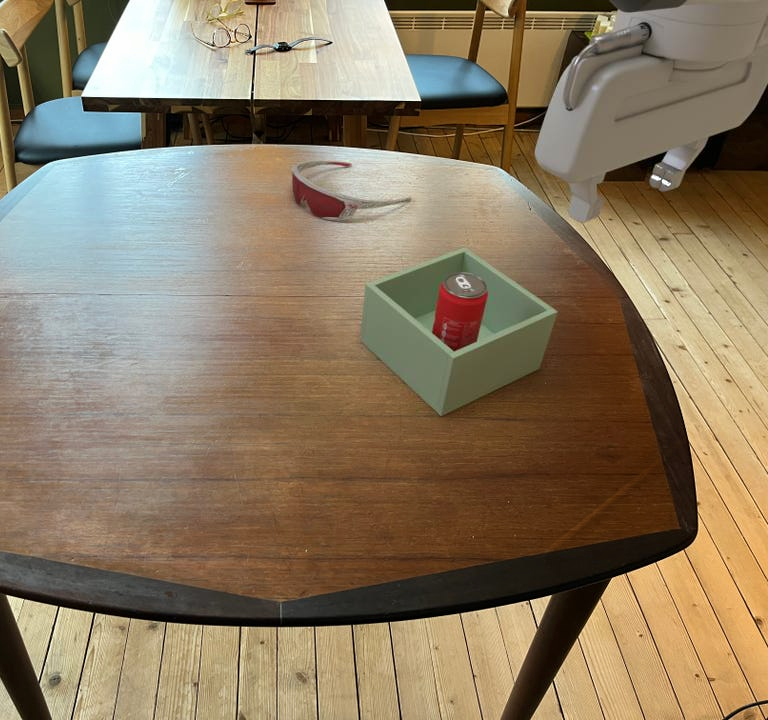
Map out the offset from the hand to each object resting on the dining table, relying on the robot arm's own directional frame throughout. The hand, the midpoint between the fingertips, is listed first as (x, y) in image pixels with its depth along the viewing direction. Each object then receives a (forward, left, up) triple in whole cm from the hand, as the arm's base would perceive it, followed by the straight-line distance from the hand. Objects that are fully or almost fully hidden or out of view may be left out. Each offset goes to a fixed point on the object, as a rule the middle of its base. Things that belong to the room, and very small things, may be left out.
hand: (623, 201), depth 57 cm
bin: (+18, -4, -31) cm, 36 cm away
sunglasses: (+57, -16, -31) cm, 67 cm away
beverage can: (+16, -2, -30) cm, 34 cm away
